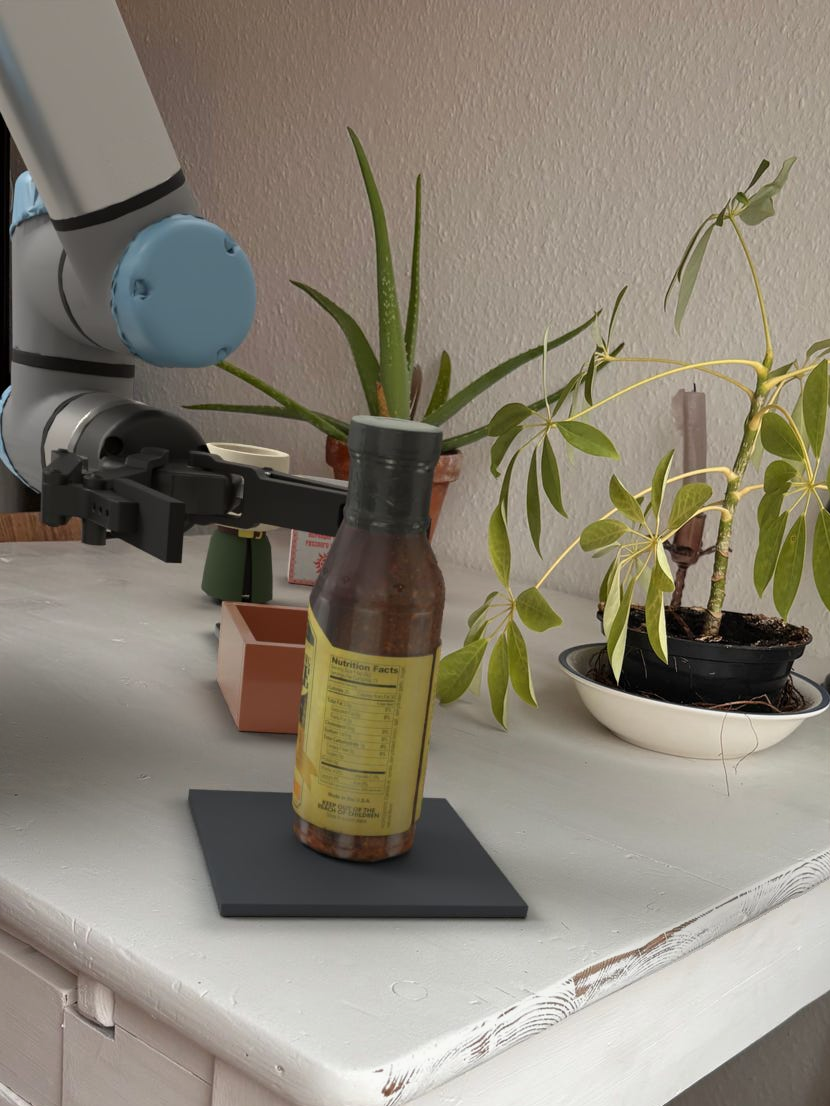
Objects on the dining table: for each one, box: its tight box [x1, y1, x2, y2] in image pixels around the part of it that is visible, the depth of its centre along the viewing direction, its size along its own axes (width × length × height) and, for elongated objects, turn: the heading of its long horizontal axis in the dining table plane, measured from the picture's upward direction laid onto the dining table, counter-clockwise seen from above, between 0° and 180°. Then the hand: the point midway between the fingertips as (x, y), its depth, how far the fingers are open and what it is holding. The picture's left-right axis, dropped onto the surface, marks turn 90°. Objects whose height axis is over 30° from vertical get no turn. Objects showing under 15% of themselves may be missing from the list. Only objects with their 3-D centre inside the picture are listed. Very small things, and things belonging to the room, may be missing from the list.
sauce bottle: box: [292, 414, 447, 862], centre depth 59 cm, size 6×6×20 cm
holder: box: [215, 600, 308, 735], centre depth 85 cm, size 12×12×6 cm
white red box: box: [287, 474, 348, 587], centre depth 125 cm, size 4×7×10 cm, turn 99°
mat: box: [188, 788, 529, 918], centre depth 63 cm, size 14×14×1 cm
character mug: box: [200, 442, 305, 604], centre depth 111 cm, size 11×7×13 cm, turn 115°
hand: (307, 539), depth 62 cm, fingers open, 13 cm apart
